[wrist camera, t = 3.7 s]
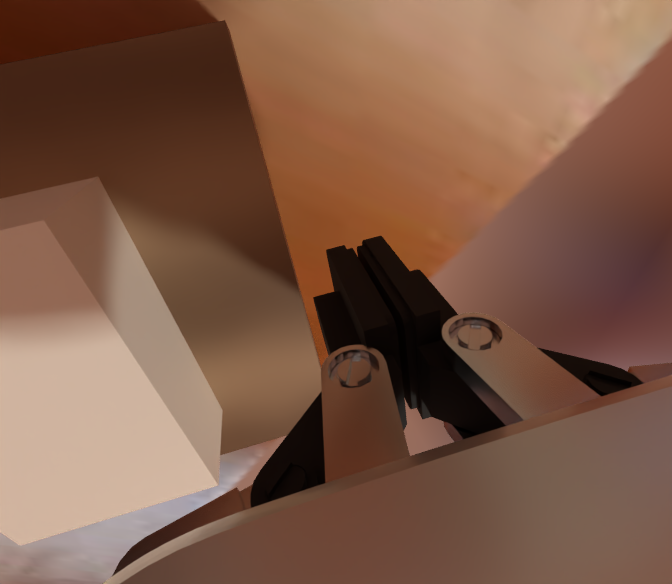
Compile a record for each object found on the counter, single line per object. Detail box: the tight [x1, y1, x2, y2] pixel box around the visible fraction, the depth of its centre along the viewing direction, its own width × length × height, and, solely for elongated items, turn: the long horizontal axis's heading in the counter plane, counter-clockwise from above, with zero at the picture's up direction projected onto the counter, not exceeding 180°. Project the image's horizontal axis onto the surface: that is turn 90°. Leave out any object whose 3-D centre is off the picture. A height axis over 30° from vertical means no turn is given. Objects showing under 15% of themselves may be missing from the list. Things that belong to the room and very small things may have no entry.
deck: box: [0, 20, 322, 455], centre depth 13 cm, size 14×12×4 cm
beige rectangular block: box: [0, 177, 223, 546], centre depth 10 cm, size 9×6×3 cm, turn 10°
